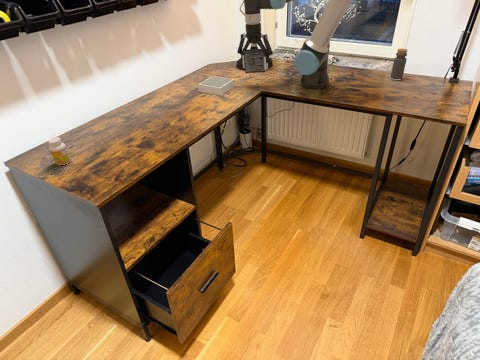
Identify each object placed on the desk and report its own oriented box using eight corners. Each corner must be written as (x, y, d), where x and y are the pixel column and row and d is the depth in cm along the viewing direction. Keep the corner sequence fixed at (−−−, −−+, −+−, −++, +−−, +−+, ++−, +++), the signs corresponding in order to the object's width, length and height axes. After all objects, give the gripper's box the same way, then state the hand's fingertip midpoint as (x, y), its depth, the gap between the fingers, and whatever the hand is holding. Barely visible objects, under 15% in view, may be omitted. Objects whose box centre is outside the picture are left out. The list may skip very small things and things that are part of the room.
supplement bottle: (52, 165, 123) (42, 142, 118) (63, 157, 127) (54, 135, 122) (64, 167, 122) (54, 144, 116) (74, 159, 126) (65, 137, 120)
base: (235, 86, 180) (234, 78, 177) (221, 95, 170) (220, 87, 168) (213, 83, 186) (212, 75, 183) (199, 91, 176) (198, 83, 174)
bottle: (404, 79, 176) (411, 49, 167) (397, 81, 174) (404, 52, 165) (394, 76, 180) (400, 47, 171) (387, 78, 178) (393, 49, 169)
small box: (266, 68, 175) (265, 47, 169) (265, 72, 170) (264, 51, 164) (246, 69, 177) (244, 49, 171) (245, 73, 171) (243, 52, 165)
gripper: (227, 24, 163) (232, 68, 175) (272, 25, 152) (273, 72, 165) (235, 21, 168) (239, 64, 180) (279, 21, 157) (279, 67, 170)
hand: (255, 68), depth 172 cm, fingers closed on small box, 12 cm apart
